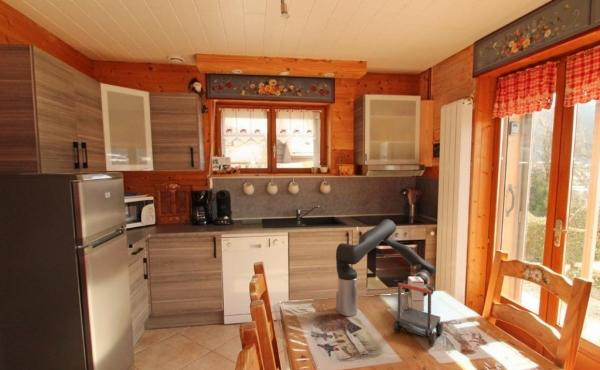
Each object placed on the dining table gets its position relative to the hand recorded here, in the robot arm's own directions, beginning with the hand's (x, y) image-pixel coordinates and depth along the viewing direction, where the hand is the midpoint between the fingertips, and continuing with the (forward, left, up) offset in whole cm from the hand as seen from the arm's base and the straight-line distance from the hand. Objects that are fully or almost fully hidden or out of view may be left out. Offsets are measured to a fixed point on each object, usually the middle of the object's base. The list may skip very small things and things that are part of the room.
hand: (415, 292), depth 137 cm
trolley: (+6, -12, -12) cm, 18 cm away
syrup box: (0, +2, -9) cm, 9 cm away
